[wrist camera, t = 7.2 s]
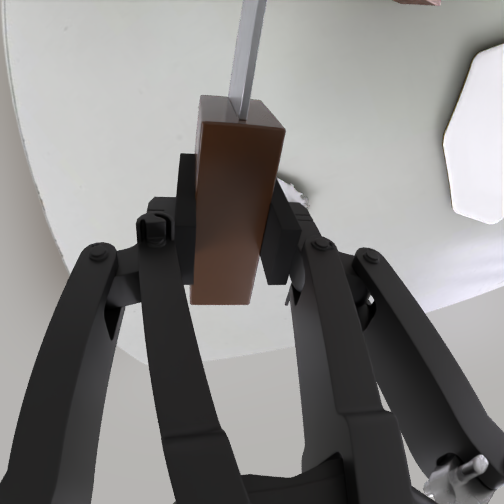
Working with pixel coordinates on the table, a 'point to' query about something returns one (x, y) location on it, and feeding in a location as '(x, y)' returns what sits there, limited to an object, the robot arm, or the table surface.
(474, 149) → the plate
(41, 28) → the table surface
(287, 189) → the flower
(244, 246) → the cake knife
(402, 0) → the cake
